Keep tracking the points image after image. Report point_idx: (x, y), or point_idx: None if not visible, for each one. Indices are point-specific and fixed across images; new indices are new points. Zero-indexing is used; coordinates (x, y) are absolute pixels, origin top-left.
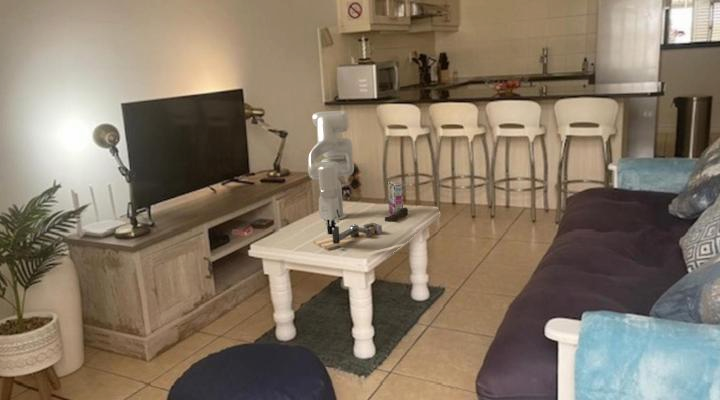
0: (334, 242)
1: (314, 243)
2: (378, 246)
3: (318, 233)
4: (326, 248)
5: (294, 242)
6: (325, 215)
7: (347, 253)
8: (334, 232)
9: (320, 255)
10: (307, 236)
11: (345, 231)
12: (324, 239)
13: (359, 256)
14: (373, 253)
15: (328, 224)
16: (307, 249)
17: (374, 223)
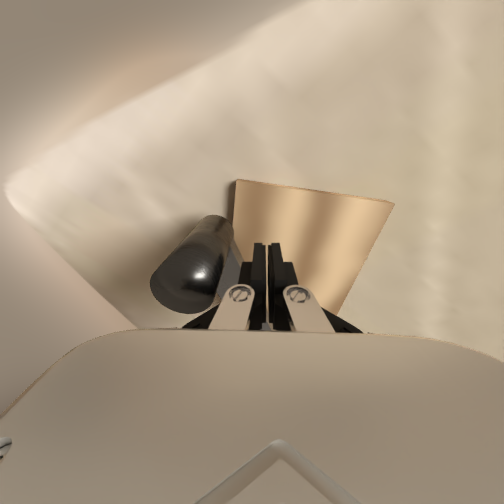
0: (205, 217)
1: (380, 200)
2: (151, 319)
3: (456, 299)
4: (250, 181)
5: None
6: (263, 422)
7: (138, 213)
8: (177, 248)
9: (192, 84)
10: (493, 250)
11: (265, 328)
12: (355, 254)
13: (74, 221)
14: (87, 272)
15: (283, 298)
16: (353, 101)
17: None
